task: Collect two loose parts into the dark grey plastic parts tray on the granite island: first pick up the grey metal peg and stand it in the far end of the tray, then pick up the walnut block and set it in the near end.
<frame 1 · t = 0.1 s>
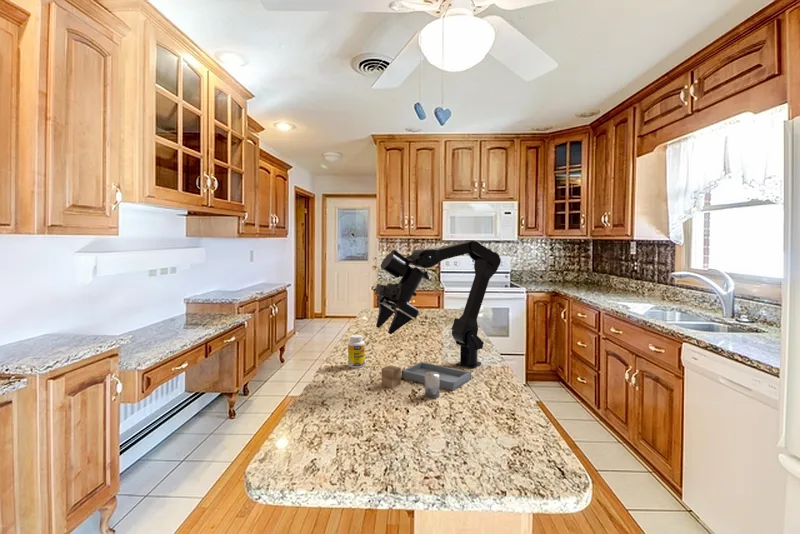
hand: (383, 330, 120), 15 cm above the countertop, tool tilted 30°, fingers open, 9 cm apart
supplement bottle: (356, 366, 134), on the countertop
grey peg: (432, 395, 108), on the countertop
parts tray: (436, 378, 121), on the countertop
walnut block: (391, 384, 116), on the countertop
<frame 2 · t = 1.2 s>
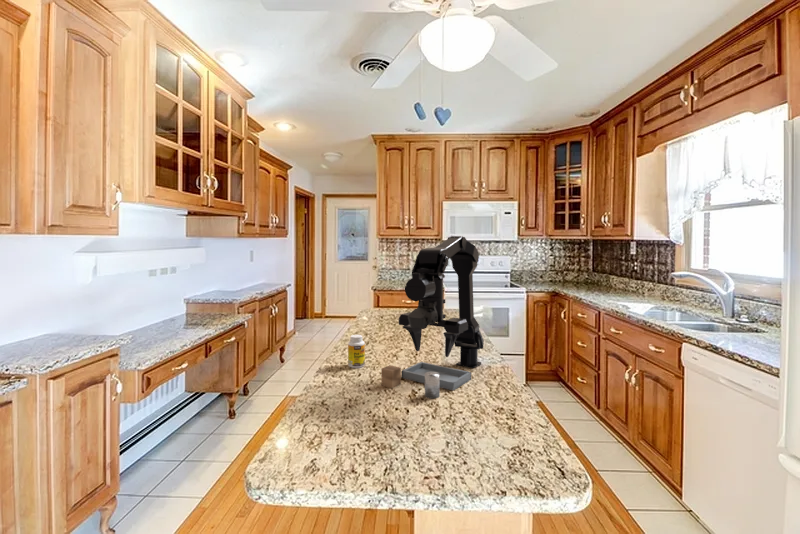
hand: (432, 353, 107), 12 cm above the countertop, tool pointing down, fingers open, 9 cm apart
nothing on the countertop moved.
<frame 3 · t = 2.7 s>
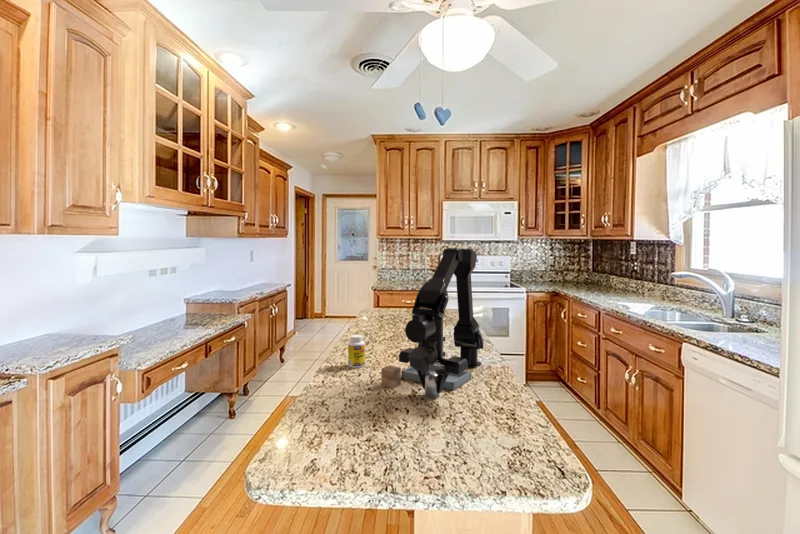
hand: (432, 391, 108), 1 cm above the countertop, tool pointing down, fingers closed on grey peg, 4 cm apart
grey peg: (432, 395, 108), on the countertop, touching gripper
everything else where it was.
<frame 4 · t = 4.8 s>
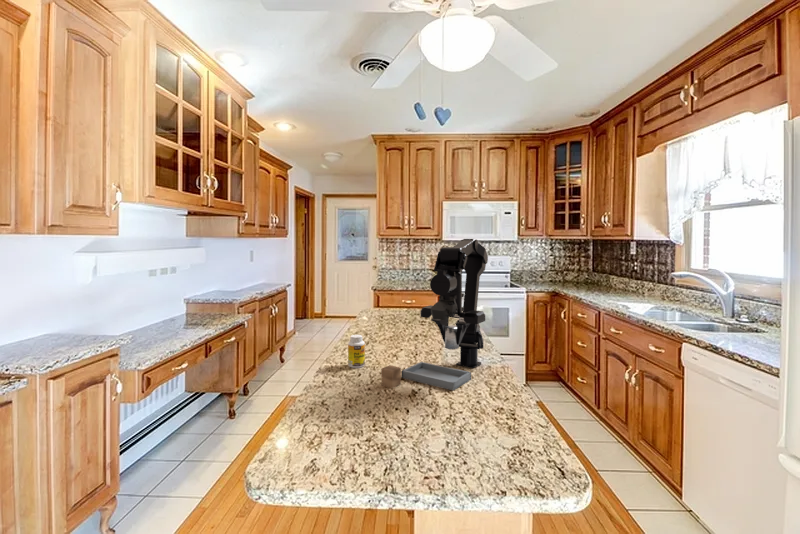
hand: (451, 343, 117), 12 cm above the countertop, tool pointing down, fingers closed on grey peg, 4 cm apart
grey peg: (451, 347, 117), point 11 cm above the countertop, touching gripper
everything else where it was.
when the fingers open (3 cm above the countertop, at t = 6.8 s): grey peg drops 1 cm, resting on parts tray.
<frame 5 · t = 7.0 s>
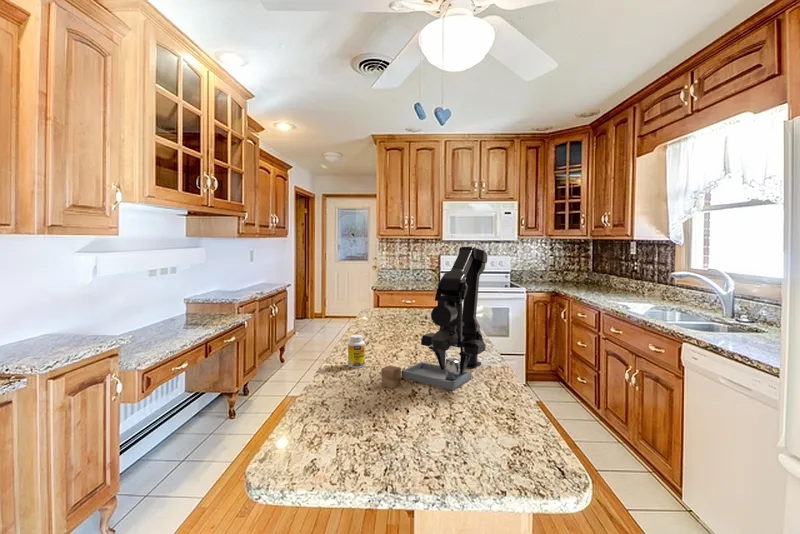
hand: (452, 371, 118), 3 cm above the countertop, tool pointing down, fingers open, 6 cm apart
grey peg: (452, 380, 118), point 1 cm above the countertop, touching parts tray
everything else where it was.
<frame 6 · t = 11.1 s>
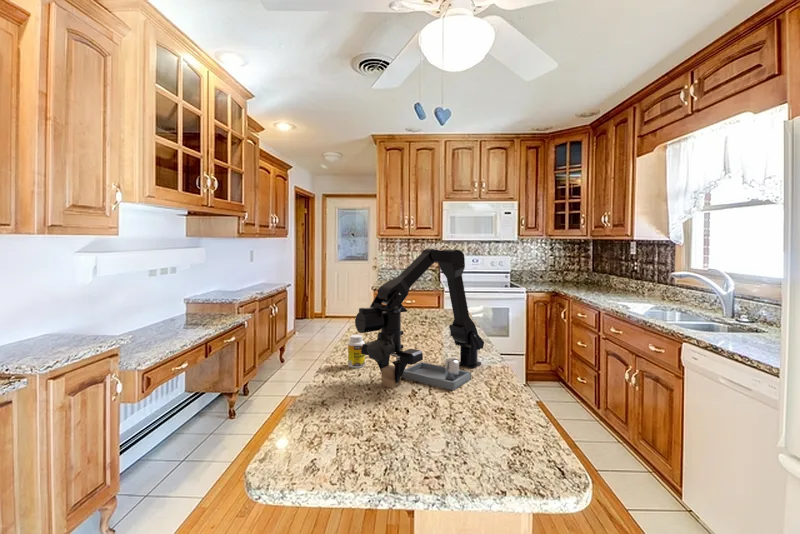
hand: (391, 381, 116), 1 cm above the countertop, tool pointing down, fingers closed on walnut block, 4 cm apart
walnut block: (391, 384, 116), on the countertop, touching gripper
everything else where it was.
when the fingers open (3 cm above the countertop, at t = 15.1 s): walnut block drops 1 cm, resting on parts tray.
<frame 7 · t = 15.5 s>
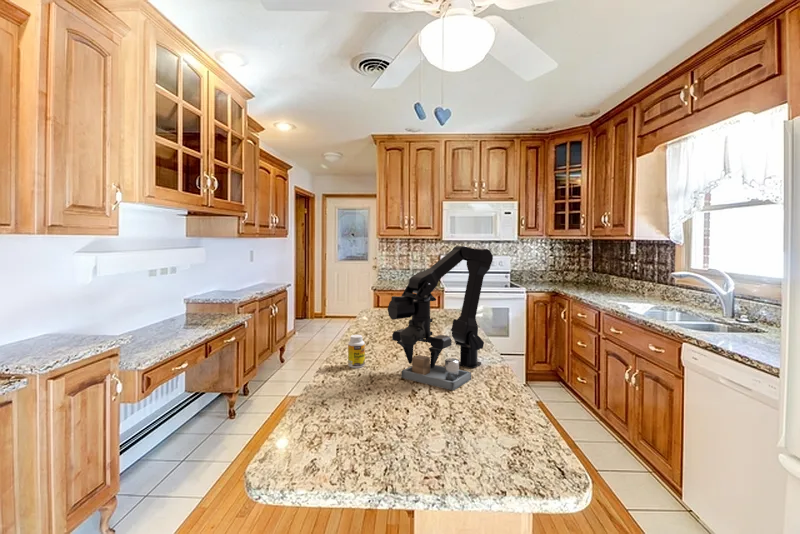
hand: (421, 365, 124), 3 cm above the countertop, tool pointing down, fingers open, 8 cm apart
walnut block: (421, 373, 124), point 1 cm above the countertop, touching parts tray
everything else where it was.
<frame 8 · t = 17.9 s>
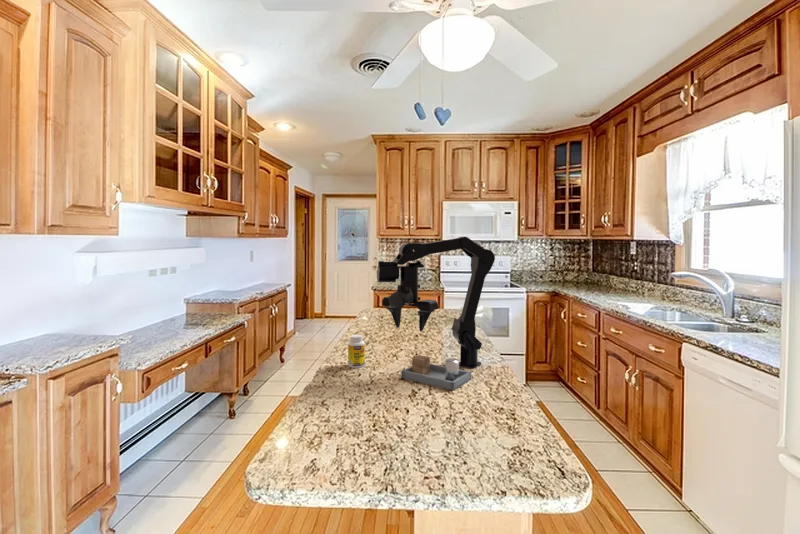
hand: (409, 329, 130), 13 cm above the countertop, tool pointing down, fingers open, 9 cm apart
nothing on the countertop moved.
at the end: grey peg inside the target area on the parts tray (5.5 cm from its centre), point 0.6 cm above the parts tray's base; walnut block inside the target area on the parts tray (5.5 cm from its centre), point 0.6 cm above the parts tray's base; the gripper is holding nothing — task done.
